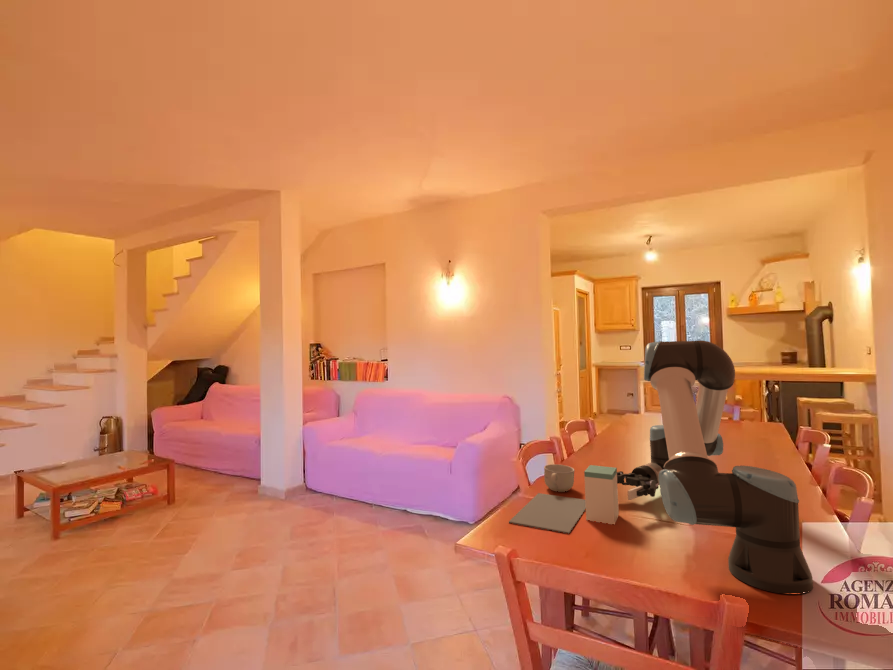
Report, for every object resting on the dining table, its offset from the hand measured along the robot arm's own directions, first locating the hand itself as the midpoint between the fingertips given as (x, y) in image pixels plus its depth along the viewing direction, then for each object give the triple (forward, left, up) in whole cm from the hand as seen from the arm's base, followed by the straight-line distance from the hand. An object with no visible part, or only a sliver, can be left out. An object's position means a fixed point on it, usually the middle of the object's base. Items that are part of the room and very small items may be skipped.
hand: (609, 489), depth 137 cm
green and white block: (-4, +1, -7) cm, 9 cm away
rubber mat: (-6, +16, -7) cm, 19 cm away
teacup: (+15, +20, -8) cm, 26 cm away
